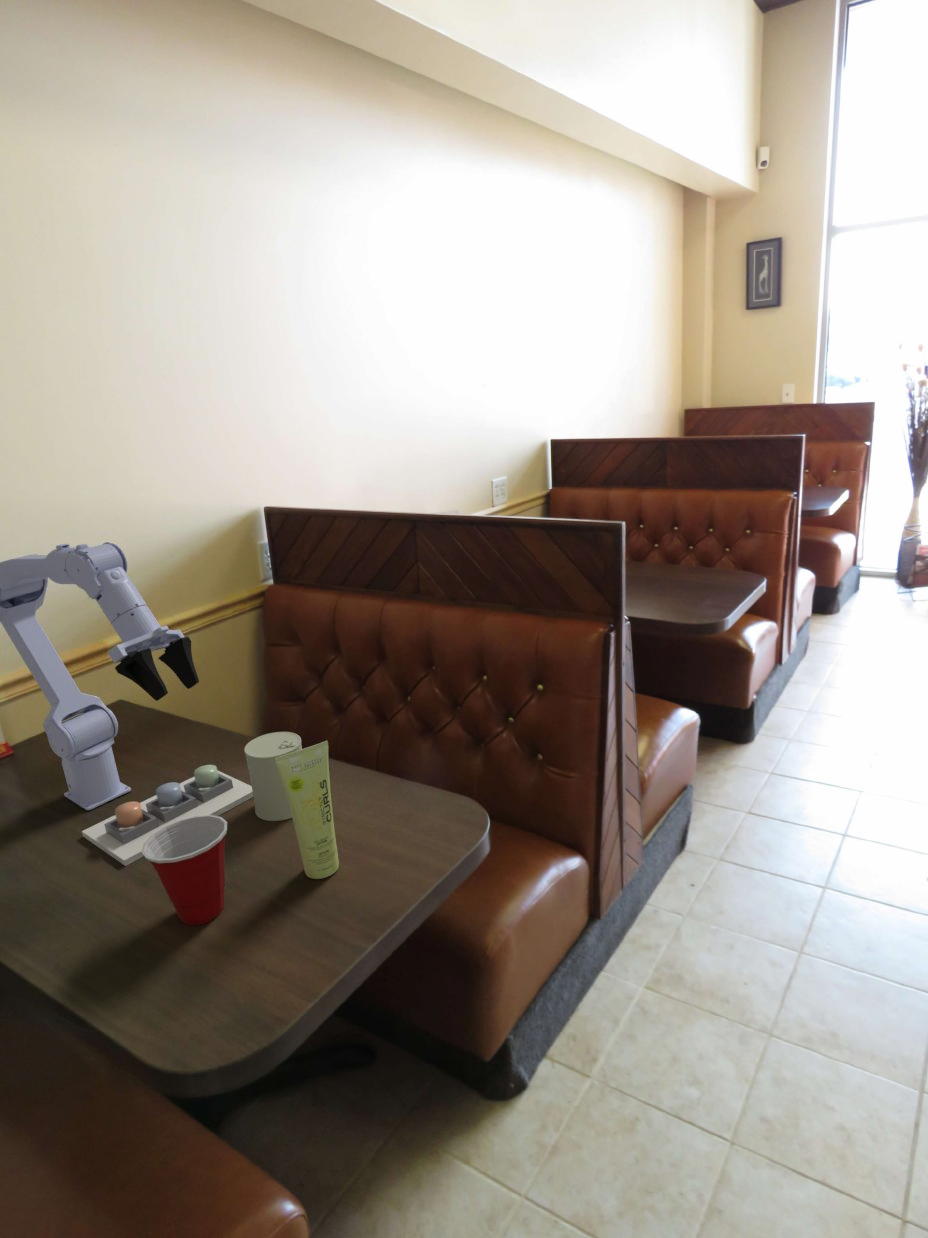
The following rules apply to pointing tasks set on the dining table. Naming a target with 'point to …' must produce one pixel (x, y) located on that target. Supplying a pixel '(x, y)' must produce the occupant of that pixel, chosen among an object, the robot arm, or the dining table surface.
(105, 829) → the console
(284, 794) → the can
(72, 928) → the dining table surface
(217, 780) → the sage button
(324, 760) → the tube
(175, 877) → the plastic cup
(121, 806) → the peach button
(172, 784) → the slate button
